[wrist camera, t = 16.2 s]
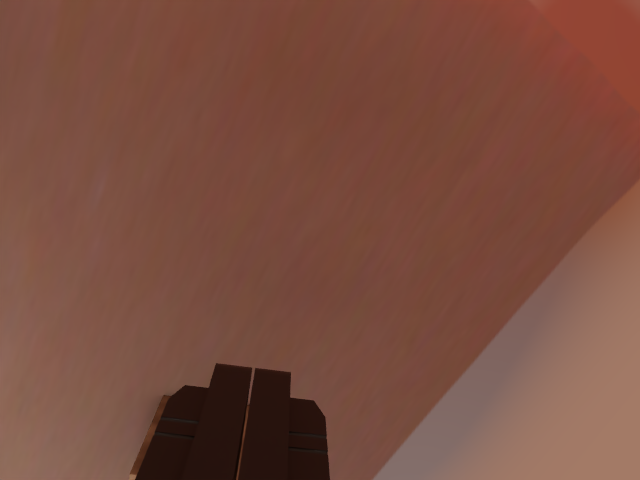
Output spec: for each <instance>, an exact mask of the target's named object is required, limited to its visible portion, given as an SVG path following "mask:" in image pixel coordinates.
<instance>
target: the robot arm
mask: <svg viewBox="0 0 640 480" xmlns="http://www.w3.org/2000/svg"><path fill="white" fill-rule="evenodd" d="M251 373H252V368H250V367H242V366H234V365H226V364H218V363H216V365H215V369H214V372H213V375H212V379H211V382H210V386H209V388H204V387H195V386H187V385H185V386H184V387H182V388H181V389H180V390H179V391H177V392H176V393H175V394H174V395H172V396H171V397H170V398H169V399H168V400H167V403H166V405H165V408H164V410H163V413H162V415H161V419H160V420H159V422H158V425H157V427H156V430H155V433H154V435H153V437H152V439H151V442H150V444H149V447H148V449H147V451H146V454H145V456H144V459H143V461H142V464H141V466H140V468H139V471H138V473H137V476H136V478H135V480H236V478H237V472H238V465H239V459H240V452H241V445H242V438H243V431H244V424H245V417H246V410H247V402H248V395H249V388H250V381H251ZM290 382H291V372H284V371H275V370H267V369H259V368H255V373H254V380H253V386H252V392H251V399H250V405H249V412H248V418H247V424H246V431H245V437H244V444H243V450H242V456H241V463H240V469H239V476H238V480H330V476H329V462H328V455H327V452H328V448H327V439H326V436H327V434H326V420H325V416H324V415H323V413H322V412H321V410H320V409H319V407H318V406H317V404H316V403H315V402H314V401H313V400H305V399H297V398H290Z"/></svg>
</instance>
